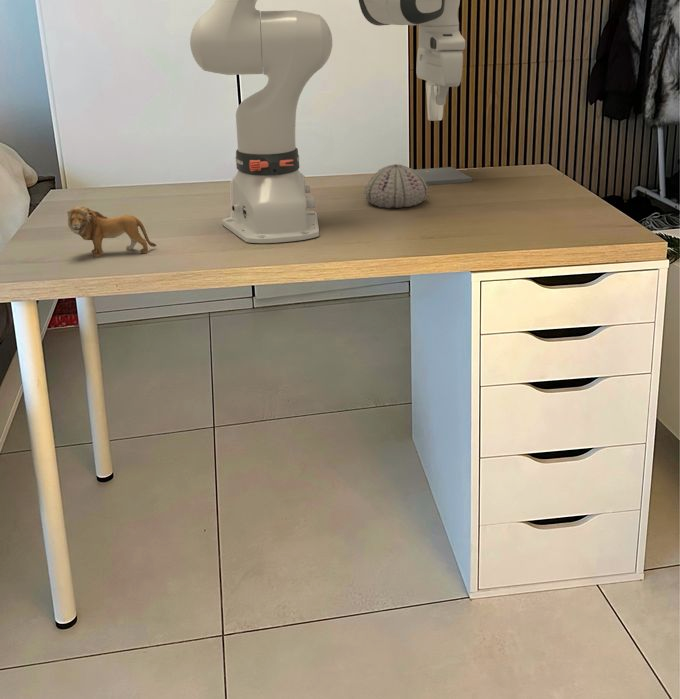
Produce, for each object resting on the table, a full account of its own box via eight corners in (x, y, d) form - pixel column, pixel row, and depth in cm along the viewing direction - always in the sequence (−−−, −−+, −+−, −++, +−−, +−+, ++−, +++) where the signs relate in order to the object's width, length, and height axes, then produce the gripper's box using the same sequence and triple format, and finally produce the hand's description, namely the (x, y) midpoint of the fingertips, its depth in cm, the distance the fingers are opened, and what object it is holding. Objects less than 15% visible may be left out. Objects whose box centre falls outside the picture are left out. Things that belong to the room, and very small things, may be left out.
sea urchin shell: (438, 207, 188) (439, 168, 185) (377, 214, 184) (377, 174, 181) (412, 193, 200) (412, 156, 197) (354, 199, 196) (354, 162, 193)
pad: (471, 181, 209) (471, 178, 209) (417, 185, 206) (418, 182, 206) (451, 170, 221) (451, 166, 220) (400, 173, 218) (400, 170, 218)
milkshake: (449, 121, 206) (450, 75, 202) (425, 121, 206) (426, 75, 202) (447, 118, 210) (449, 72, 206) (424, 118, 210) (425, 73, 206)
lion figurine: (73, 262, 158) (66, 211, 154) (71, 253, 162) (64, 204, 159) (158, 252, 162) (153, 202, 159) (154, 244, 167) (149, 196, 163)
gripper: (410, 36, 210) (409, 98, 215) (440, 42, 192) (438, 110, 197) (436, 35, 211) (434, 96, 217) (468, 41, 193) (466, 108, 198)
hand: (436, 103), depth 207 cm, fingers closed on milkshake, 4 cm apart
